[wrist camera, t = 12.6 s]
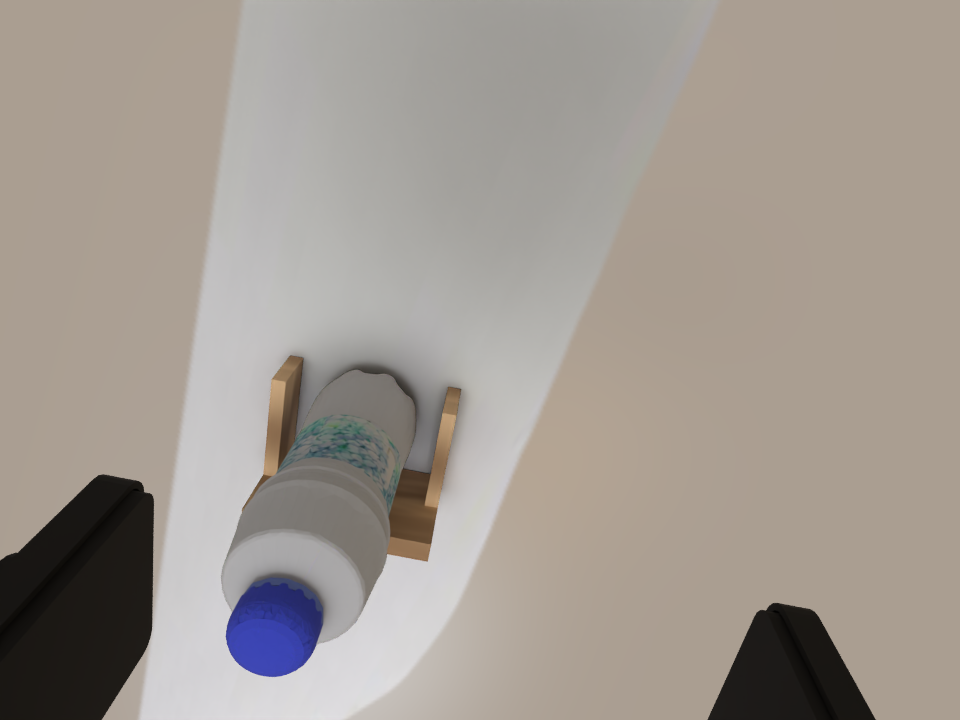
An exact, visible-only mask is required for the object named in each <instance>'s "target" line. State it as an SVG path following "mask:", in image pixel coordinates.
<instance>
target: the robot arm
mask: <svg viewBox="0 0 960 720" xmlns="http://www.w3.org/2000/svg"><path fill="white" fill-rule="evenodd" d="M153 524H154V499H153V496H152V494H150V493H145V492H144V487H143V485H142V483H141V482H139V481H135V480H130V479H125V478H119V477H114V476H109V475H98V476H97V477H96V478H94V479H93V480H92V481H91V482H90V483H89V484H88V485H87V486H86V487H85V488H84V489H83V490H82V491H81V492H80V493H79V494H78V495H77V496H76V497H75V498H74V499H73V500H72V501H70V502H69V504H67V505H66V506H65V507H64V508H63V509H62V510H61V511H60V512H59V513H58V514H57V515H56V516H55V517H54V518H53V519H52V520H51V521H50V522H49V523H48V524H47V525H46V526H45V527H44V528H43V529H42V530H41V531H40V532H39V533H38V534H37V535H36V536H34V537H33V538H32V539H31V540H30V541H29V542H28V543H27V544H26V545H25V546H24V547H23V548H22V549H21V550H20V551H19V552H18V553H14V554H11V555H8V556H6V557H5V558H3V559H2V560H0V720H102V718H103V717H104V715H105V714H106V712H107V711H108V709H109V707H110V706H111V704H112V702H113V701H114V699H115V698H116V696H117V695H118V693H119V692H120V690H121V688H122V687H123V685H124V683H125V682H126V681H127V679H128V677H129V676H130V674H131V673H132V671H133V669H134V668H135V666H136V665H137V663H138V662H139V660H140V659H141V657H142V655H143V654H144V652H145V650H146V648H147V645H148V643H149V640H150V636H151V632H152V601H153V528H154V527H153ZM708 720H876V719H875V718H874V716H873V714H872V712H871V710H870V709H869V707H868V705H867V703H866V702H865V700H864V698H863V696H862V694H861V692H860V691H859V689H858V687H857V685H856V683H855V682H854V680H853V678H852V676H851V675H850V672H849V671H848V669H847V667H846V665H845V664H844V662H843V660H842V658H841V656H840V654H839V653H838V651H837V649H836V647H835V646H834V644H833V642H832V640H831V638H830V636H829V635H828V633H827V631H826V629H825V627H824V626H823V624H822V622H821V620H820V618H819V617H818V615H817V614H816V613H815V612H814V611H812V610H811V609H806V608H801V607H795V606H790V605H784V604H780V603H773V604H771V605H770V606H769V607H768V608H767V610H766V611H765V610H760V611H758V612H757V613H756V615H755V617H754V619H753V621H752V624H751V626H750V628H749V630H748V632H747V634H746V636H745V639H744V641H743V643H742V645H741V647H740V650H739V652H738V654H737V656H736V658H735V661H734V663H733V665H732V667H731V669H730V672H729V674H728V676H727V678H726V680H725V683H724V685H723V687H722V689H721V691H720V694H719V696H718V698H717V700H716V703H715V704H714V707H713V709H712V711H711V713H710V716H709V718H708Z"/></svg>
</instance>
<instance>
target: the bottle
mask: <svg viewBox="0 0 960 720" xmlns="http://www.w3.org/2000/svg"><path fill="white" fill-rule="evenodd" d="M415 431H416V409H415V406H414V402H413V400H412V399H411V398H410V397H409V396H407V395H406V394H405V393H404V392H403V391H402V390H401V388H400V387H399V386H398V385H397V383H396V381H395V379H394V378H393V377H392V376H390V375H388V374H369V373H363V372H362V371H361V370H352V371H349V372H346V373H345V374H343V375H342V376H340V377H339V378H337V379H336V380H334V381H333V382H331V383H330V384H328V385H327V386H326V387H325V388H324V389H323V390H322V391H321V392H320V394H319V395H318V396H317V398H316V399H315V401H314V403H313V405H312V407H311V409H310V411H309V413H308V415H307V418H306V420H305V422H304V425H303V427H302V430H301V432H300V434H299V435H298V437H297V438H296V440H295V442H294V444H293V445H292V447H291V449H290V450H289V452H288V454H287V455H286V457H285V459H284V461H283V462H282V464H281V466H280V467H279V469H278V471H277V472H276V474H275V475H274V476H272V477H270V478H269V479H267V480H266V481H265V482H264V483H263V484H262V485H261V486H260V487H259V488H258V490H257V491H256V493H255V495H254V497H253V498H252V499H251V500H250V501H249V503H248V504H247V505H246V507H245V508H244V510H243V512H242V514H241V516H240V519H239V522H238V526H237V530H236V533H235V535H234V538H233V541H232V543H231V546H230V549H229V551H228V554H227V557H226V560H225V562H224V565H223V569H222V575H221V581H222V590H223V594H224V597H225V600H226V602H227V604H228V605H229V607H230V609H231V611H232V614H231V617H230V619H229V622H228V625H227V631H226V640H227V645H228V648H229V651H230V653H231V655H232V656H233V658H234V659H235V661H236V662H237V663H238V664H239V665H241V666H242V667H243V668H245V669H246V670H248V671H250V672H252V673H255V674H258V675H262V676H268V677H277V676H283V675H287V674H289V673H291V672H293V671H296V670H297V669H298V668H300V667H301V666H303V665H304V664H305V663H306V662H307V660H308V659H309V658H310V656H311V655H312V653H313V651H314V649H315V647H316V644H320V643H324V642H328V641H330V640H332V639H335V638H337V637H339V636H340V635H342V634H343V633H345V632H346V631H348V630H349V629H350V627H351V626H352V625H353V624H354V623H355V622H356V621H357V619H358V618H359V616H360V614H361V612H362V611H363V608H364V606H365V604H366V602H367V600H368V598H369V596H370V594H371V591H372V589H373V587H374V585H375V583H376V581H377V579H378V578H379V576H380V574H381V573H382V570H383V568H384V565H385V562H386V558H387V548H388V545H389V541H390V523H389V514H390V510H391V507H392V503H393V500H394V496H395V493H396V489H397V485H398V482H399V478H400V474H401V471H402V469H403V467H404V464H405V462H406V460H407V458H408V455H409V453H410V450H411V447H412V444H413V441H414V437H415Z"/></svg>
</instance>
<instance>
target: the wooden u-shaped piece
mask: <svg viewBox="0 0 960 720" xmlns="http://www.w3.org/2000/svg"><path fill="white" fill-rule="evenodd" d="M302 365H303V358H300V357H295V356H290V357H289V358H288V359H287V360H286V362H285V363H284V364H283V365H282V367H281V368H280V369H279V371H278V372H277V373H276V374H275V376H274V377H273V378H272V382H271V393H270V405H269V416H268V428H267V440H266V451H265V463H264V474H263V476H262V478H261V479H260V481H259V483H258V484H257V486H256V487H255V489H254V491H253V492H252V494H251V495H250V497H249V499H248V500H247V502H246V504H245V505H244V507H243V508H242V512H243V510H244V508H245V507H246V505H247V504H248V503H249V501H250V500H251V499H252V498H253V497H254V495H255V493H256V491H257V490H258V488H259V487H260V486H261V485H262V484H263V483H264V482H265V481H266V480H267V479H269V478H270V477H272V476H274V475H275V474H276V472H277V471H278V469H279V467H280V466H281V464H282V462H283V461H284V459H285V457H286V455H287V454H288V452H289V450H290V449H291V447H292V445H293V444H294V442H295V432H296V423H297V413H298V403H299V394H300V384H301V375H302ZM460 392H461V389H456V388H451V387H448V390H447V395H446V400H445V405H444V409H443V414H442V419H441V424H440V429H439V434H438V439H437V444H436V450H435V455H434V460H433V465H432V470H431V474H427V473H421V472H416V471H411V470H406V469H402V471H401V474H400V478H399V482H398V485H397V489H396V493H395V496H394V500H393V503H392V507H391V510H390V514H389V523H390V541H389V545H388V548H387V554H390V555H395V556H401V557H406V558H411V559H416V560H422V561H427V562H428V557H429V552H430V547H431V542H432V536H433V531H434V525H435V519H436V514H437V508H438V503H439V498H440V493H441V489H442V484H443V479H444V474H445V469H446V464H447V460H448V455H449V450H450V445H451V440H452V435H453V431H454V426H455V421H456V416H457V410H458V404H459V398H460Z"/></svg>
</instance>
